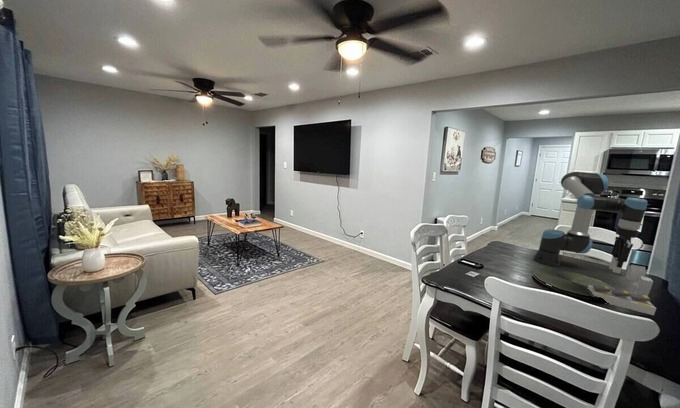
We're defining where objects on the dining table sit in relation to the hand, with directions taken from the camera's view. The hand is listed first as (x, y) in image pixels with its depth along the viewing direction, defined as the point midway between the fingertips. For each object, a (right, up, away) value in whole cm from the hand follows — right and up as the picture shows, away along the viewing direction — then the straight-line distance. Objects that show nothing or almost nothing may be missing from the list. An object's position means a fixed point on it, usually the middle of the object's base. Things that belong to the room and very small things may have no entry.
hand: (614, 270), depth 142 cm
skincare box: (+21, -17, +7) cm, 28 cm away
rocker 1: (-3, -12, +4) cm, 13 cm away
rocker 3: (+10, -14, -3) cm, 18 cm away
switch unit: (+3, -17, +1) cm, 17 cm away
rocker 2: (+3, -13, 0) cm, 14 cm away
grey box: (+44, -14, +31) cm, 55 cm away
